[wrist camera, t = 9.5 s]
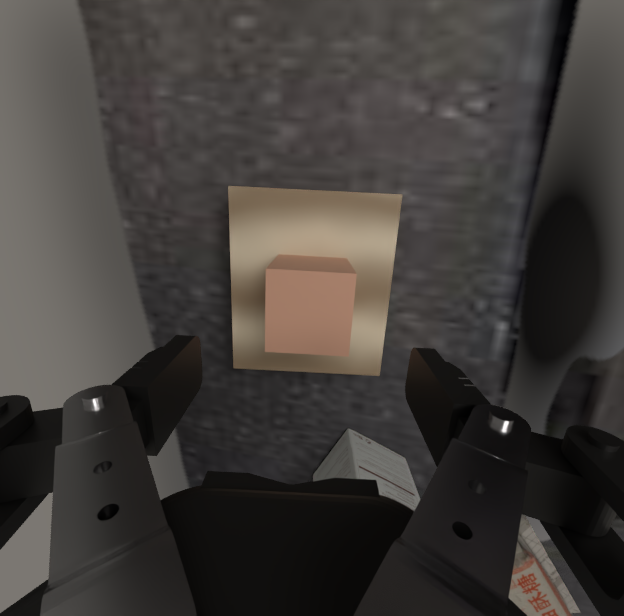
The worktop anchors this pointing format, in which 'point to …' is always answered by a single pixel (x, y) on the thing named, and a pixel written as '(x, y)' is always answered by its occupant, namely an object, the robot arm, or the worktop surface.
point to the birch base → (311, 242)
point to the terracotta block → (309, 305)
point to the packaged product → (537, 579)
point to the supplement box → (370, 467)
